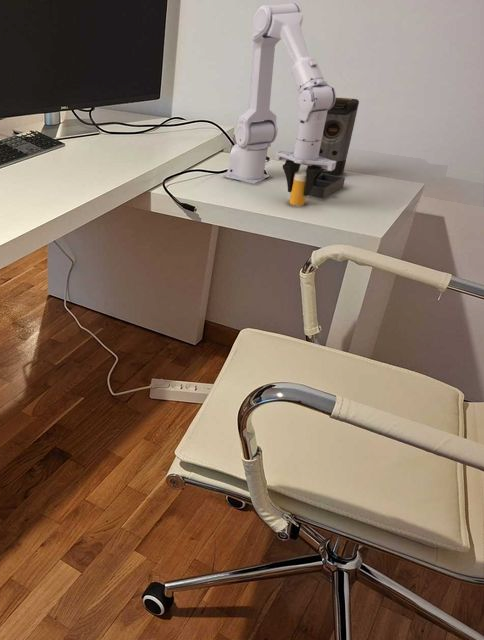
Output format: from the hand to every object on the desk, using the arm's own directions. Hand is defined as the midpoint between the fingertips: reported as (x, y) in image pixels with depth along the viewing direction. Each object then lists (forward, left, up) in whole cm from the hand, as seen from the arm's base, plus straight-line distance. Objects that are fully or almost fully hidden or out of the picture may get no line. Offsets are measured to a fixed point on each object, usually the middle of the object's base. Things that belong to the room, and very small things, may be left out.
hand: (298, 193), depth 168 cm
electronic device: (-6, +27, -3) cm, 28 cm away
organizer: (0, +13, -3) cm, 13 cm away
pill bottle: (0, 0, -3) cm, 3 cm away
